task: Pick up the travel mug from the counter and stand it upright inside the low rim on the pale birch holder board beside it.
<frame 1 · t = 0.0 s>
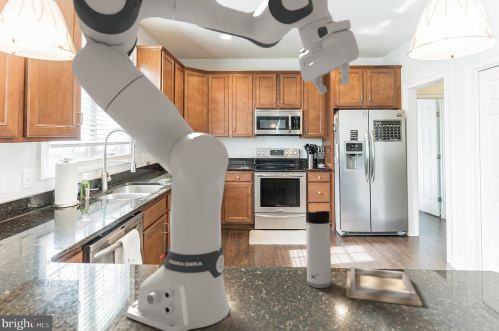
hand: (333, 89, 78), 52 cm above the countertop, tool tilted 20°, fingers open, 8 cm apart
travel mug: (319, 284, 79), on the countertop
mug holder: (379, 287, 76), on the countertop
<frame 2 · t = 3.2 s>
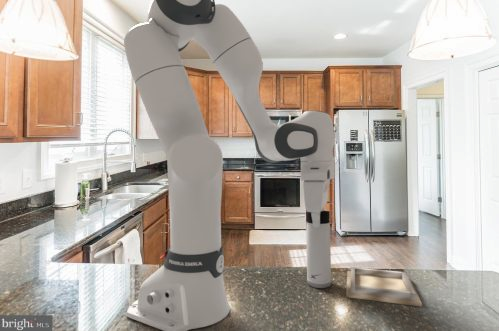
hand: (318, 223, 79), 16 cm above the countertop, tool pointing down, fingers open, 6 cm apart
travel mug: (319, 284, 79), on the countertop, touching gripper
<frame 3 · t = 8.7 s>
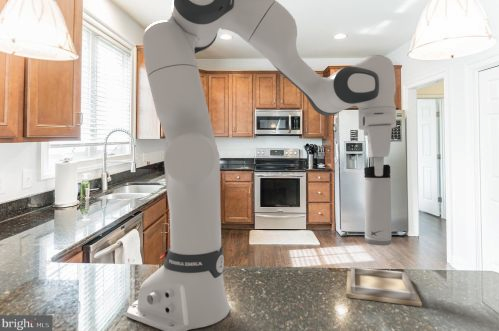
hand: (377, 175, 76), 29 cm above the countertop, tool pointing down, fingers closed on travel mug, 6 cm apart
travel mug: (378, 243, 76), point 12 cm above the countertop, touching gripper
when the fingers open (17 cm above the countertop, at t = 14.0 s): travel mug stays where it is, resting on mug holder.
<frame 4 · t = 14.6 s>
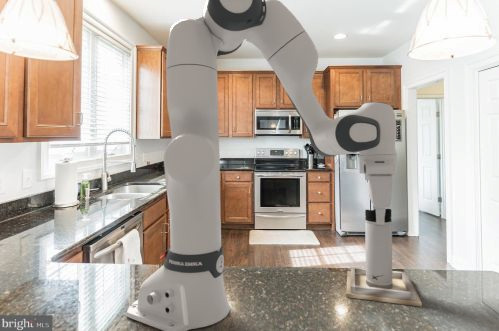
hand: (378, 220, 76), 17 cm above the countertop, tool pointing down, fingers open, 8 cm apart
travel mug: (379, 286, 76), point 1 cm above the countertop, touching mug holder
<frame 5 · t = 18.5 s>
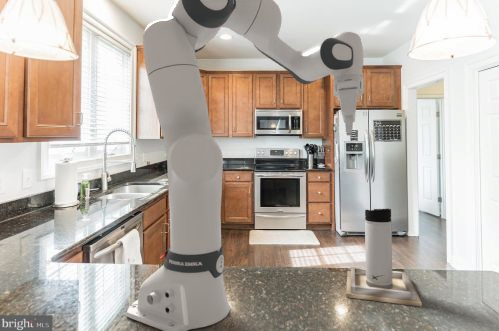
hand: (349, 134, 91), 41 cm above the countertop, tool pointing down, fingers open, 8 cm apart
nothing on the countertop moved.
at the end: travel mug inside the target area on the mug holder (0.4 cm from its centre), point 0.6 cm above the mug holder's base; travel mug tilted 0°; the gripper is holding nothing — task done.
